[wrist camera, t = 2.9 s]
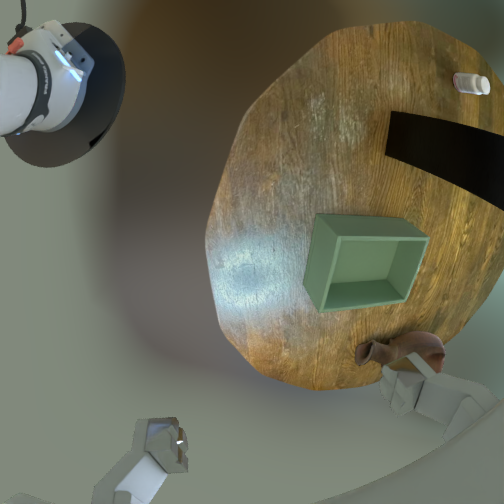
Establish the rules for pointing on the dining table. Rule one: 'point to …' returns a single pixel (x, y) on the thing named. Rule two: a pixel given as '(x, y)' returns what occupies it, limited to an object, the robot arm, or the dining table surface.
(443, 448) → the robot arm
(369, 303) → the tray
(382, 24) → the dining table surface
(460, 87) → the pill bottle
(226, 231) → the dining table surface
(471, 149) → the stand
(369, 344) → the jug
